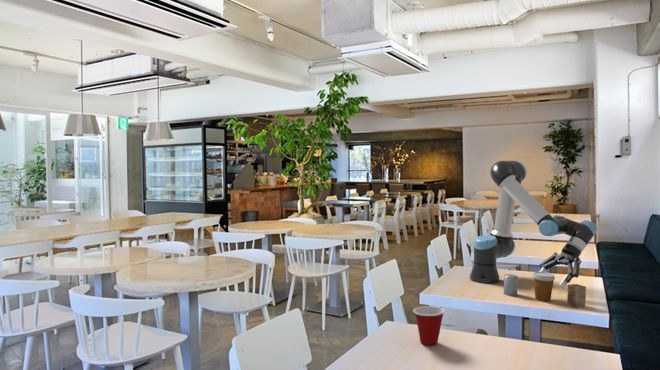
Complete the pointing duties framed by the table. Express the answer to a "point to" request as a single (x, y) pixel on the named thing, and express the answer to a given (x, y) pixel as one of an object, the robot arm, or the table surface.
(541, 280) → the disposable coffee cup
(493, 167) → the robot arm
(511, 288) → the grey rounded cylinder
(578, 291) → the walnut block
